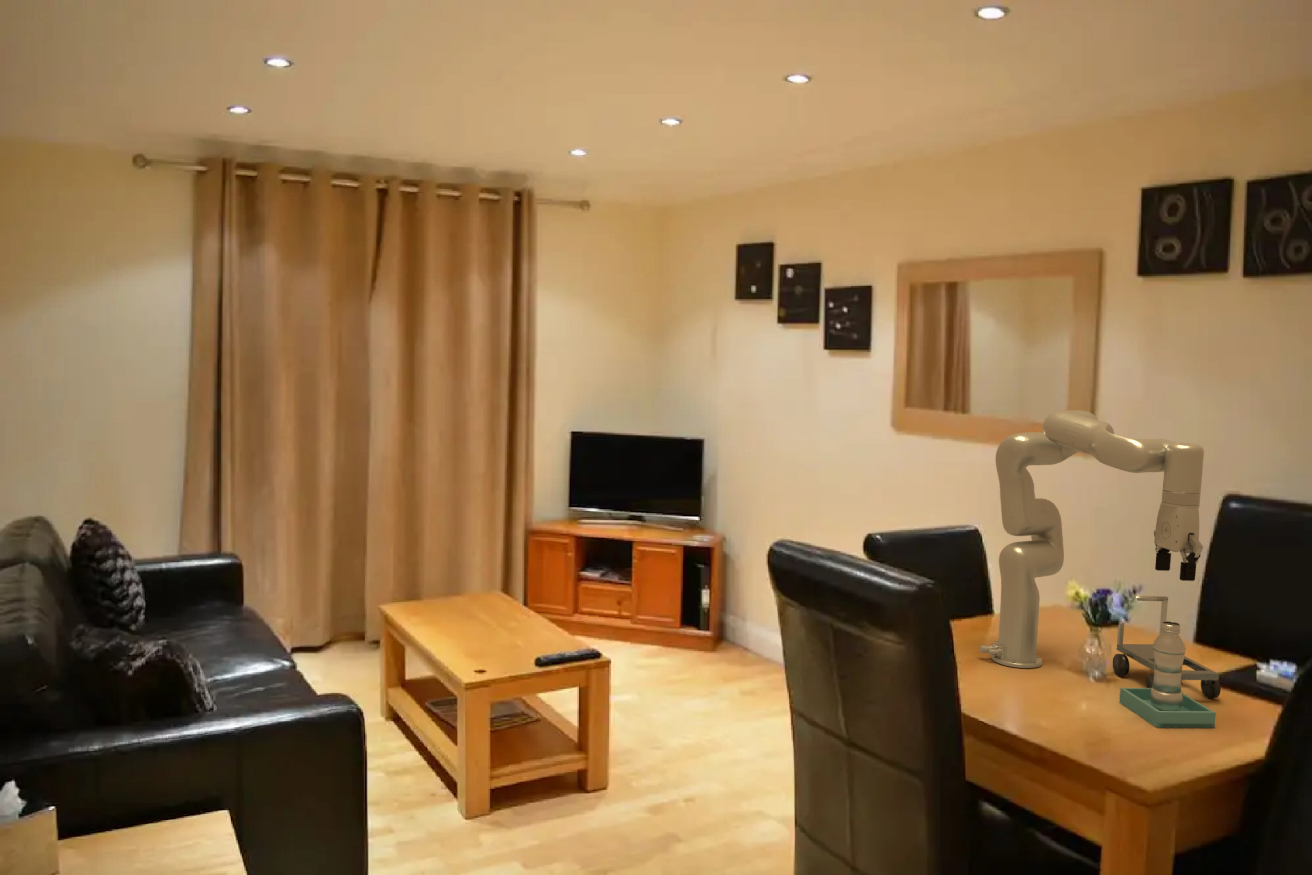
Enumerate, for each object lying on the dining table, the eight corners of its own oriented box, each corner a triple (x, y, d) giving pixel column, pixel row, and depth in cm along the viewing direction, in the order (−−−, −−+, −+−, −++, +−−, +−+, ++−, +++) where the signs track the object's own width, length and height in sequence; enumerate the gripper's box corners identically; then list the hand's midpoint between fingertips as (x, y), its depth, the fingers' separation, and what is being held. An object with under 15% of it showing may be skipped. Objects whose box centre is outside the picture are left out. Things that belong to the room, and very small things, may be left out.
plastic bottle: (1181, 717, 227) (1187, 629, 225) (1147, 711, 230) (1153, 624, 228) (1183, 709, 232) (1189, 622, 230) (1150, 703, 236) (1155, 617, 234)
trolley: (1160, 702, 239) (1166, 620, 238) (1109, 670, 263) (1114, 595, 262) (1223, 703, 240) (1229, 620, 239) (1165, 670, 264) (1171, 596, 263)
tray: (1156, 727, 223) (1158, 712, 223) (1119, 702, 239) (1120, 687, 239) (1214, 728, 224) (1215, 712, 223) (1173, 702, 240) (1174, 688, 239)
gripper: (1143, 492, 236) (1137, 566, 237) (1186, 505, 218) (1180, 584, 220) (1175, 493, 236) (1169, 567, 238) (1220, 505, 219) (1214, 584, 220)
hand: (1174, 575), depth 229 cm, fingers open, 9 cm apart
